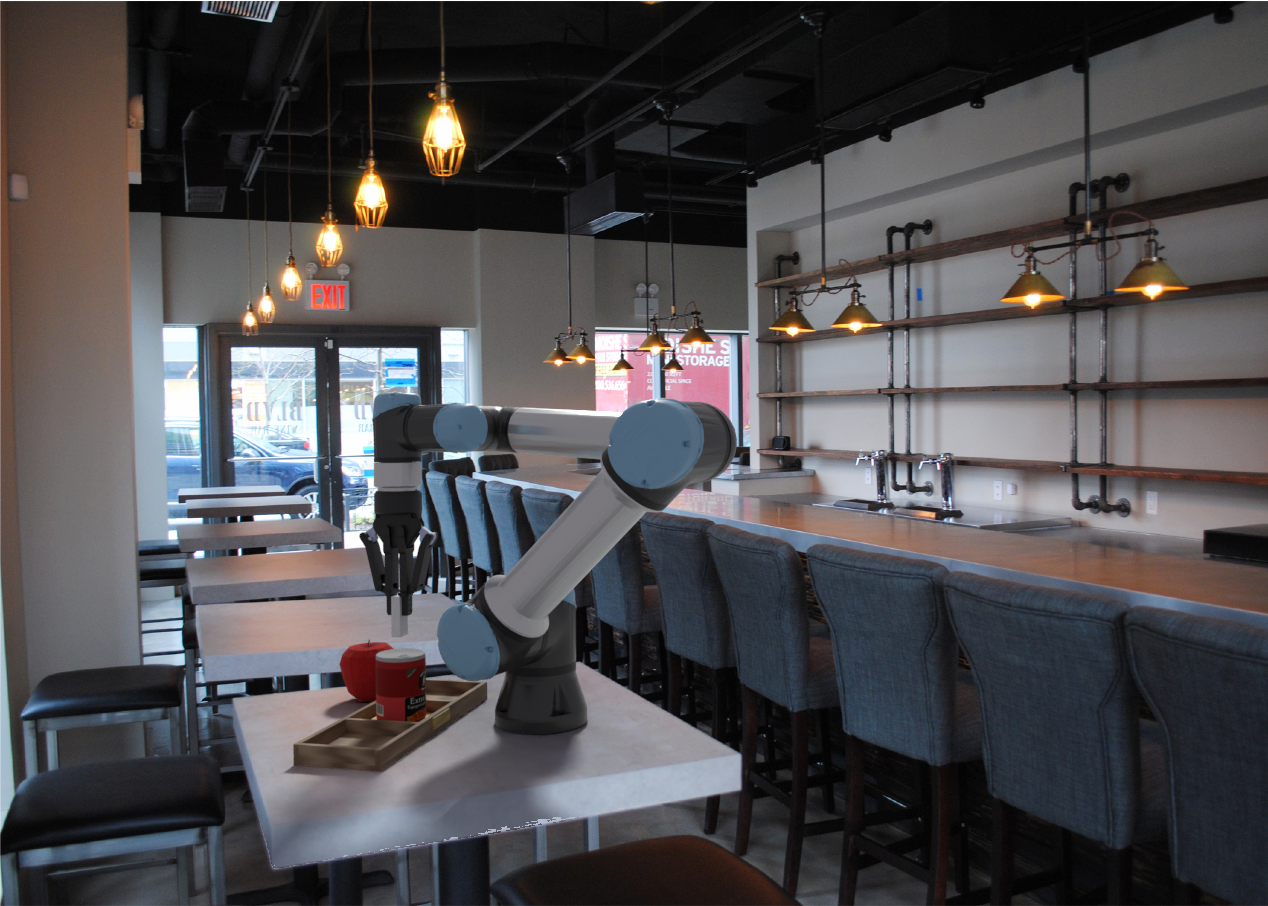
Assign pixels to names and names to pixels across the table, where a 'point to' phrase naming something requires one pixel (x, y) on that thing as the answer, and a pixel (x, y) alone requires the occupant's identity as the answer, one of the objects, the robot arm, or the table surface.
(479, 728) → the table surface
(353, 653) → the apple
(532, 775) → the table surface
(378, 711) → the canned food
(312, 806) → the table surface
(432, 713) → the caddy
